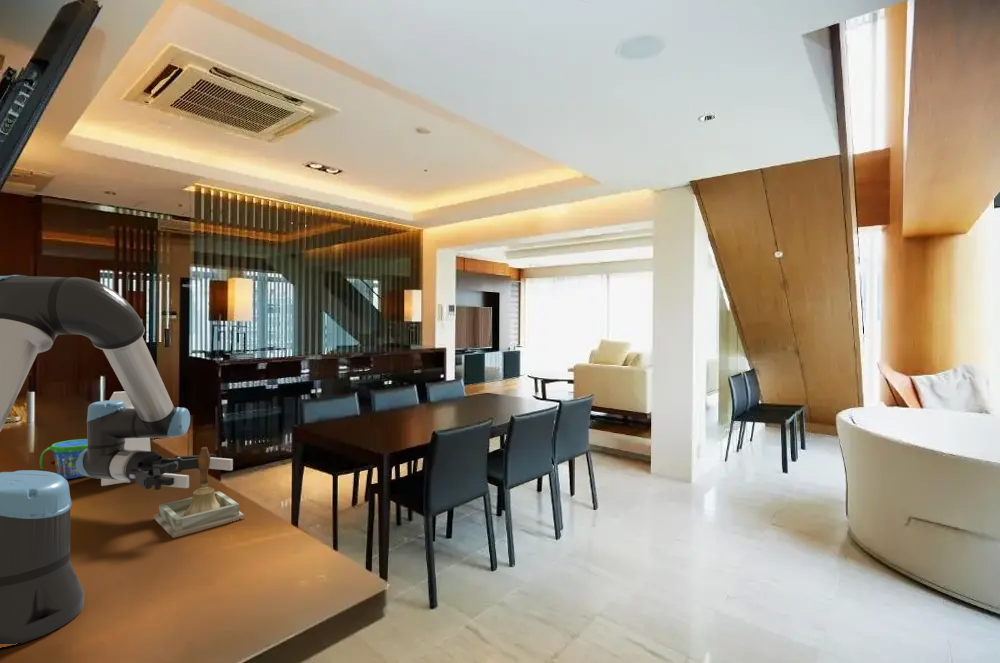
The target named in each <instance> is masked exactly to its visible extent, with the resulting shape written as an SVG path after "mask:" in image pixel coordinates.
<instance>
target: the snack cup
mask: <svg viewBox="0 0 1000 663" xmlns="http://www.w3.org/2000/svg"><path fill="white" fill-rule="evenodd" d="M87 447H88V439H87V438H79V439H78V438H77V439H70V440H64V441H63V440H62V441H58V442H55V443H53V444H51V446H48V447H47V448H46V449H44V450H43V451H42V453H41V454H40V457H39V467H40V470H43V469H44V465H43V464H44V463H43V462H44V461H43V460H44V454H45V453H46V452H48V451H51V452H52V453H53V458H54V464H55V465H54V466H55V470H56V474H59V475H61V476H62V477H64V478H65V479H66V480H71V479H76V478H83V477H85V476H84V475H82V474H80V473H79V472H78V471H77V468H76V460H77V459H78V457H79V454H80V453H81V452H82V451H83V450H85V449H87Z"/></svg>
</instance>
